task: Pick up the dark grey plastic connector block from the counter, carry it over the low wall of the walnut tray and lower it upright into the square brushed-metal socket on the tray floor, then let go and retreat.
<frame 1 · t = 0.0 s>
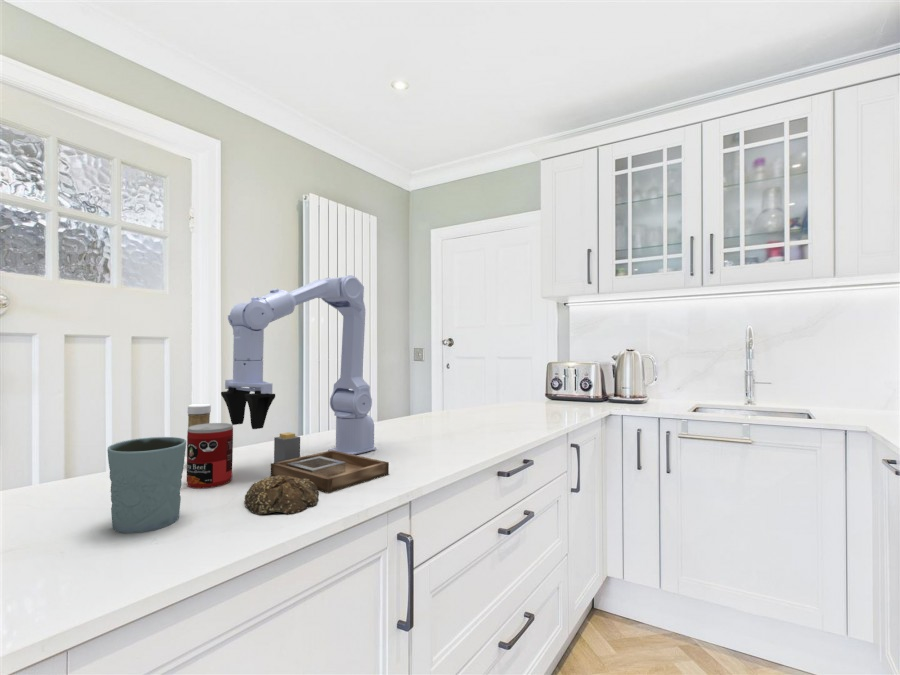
hand: (247, 426, 97), 10 cm above the countertop, tool pointing down, fingers open, 7 cm apart
bread roll: (282, 505, 81), on the countertop
green plant pot: (146, 523, 72), on the countertop
sprinkles bottle: (198, 465, 105), on the countertop
tray: (330, 475, 98), on the countertop
socket: (316, 475, 98), resting on tray
canned food: (209, 483, 92), on the countertop
connector: (286, 463, 107), on the countertop
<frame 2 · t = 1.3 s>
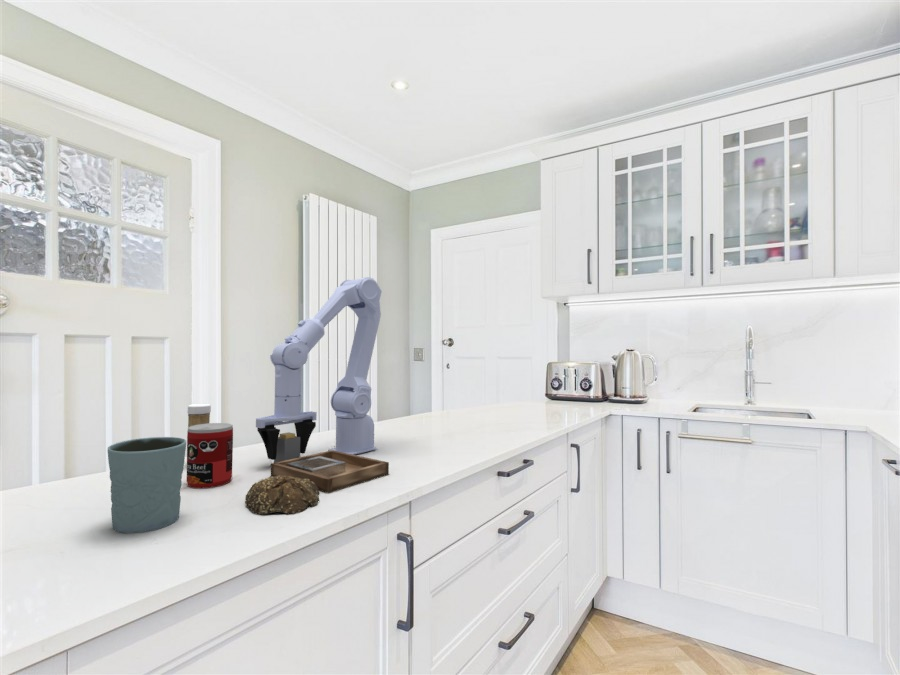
hand: (286, 455, 107), 2 cm above the countertop, tool pointing down, fingers open, 7 cm apart
nothing on the countertop moved.
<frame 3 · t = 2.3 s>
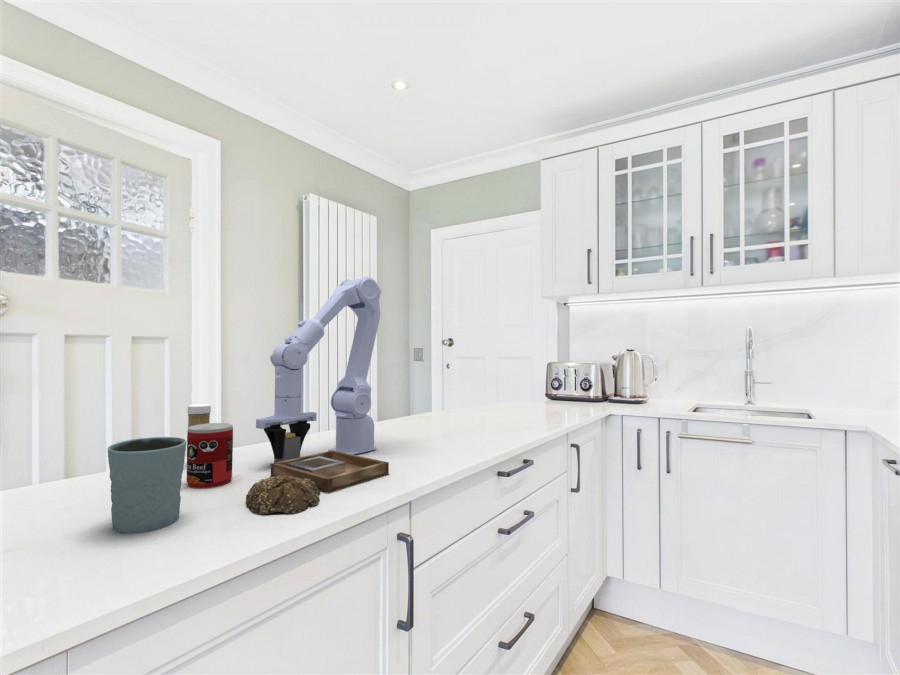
hand: (287, 456, 107), 2 cm above the countertop, tool pointing down, fingers closed on connector, 4 cm apart
connector: (286, 463, 107), on the countertop, touching gripper
everything else where it was.
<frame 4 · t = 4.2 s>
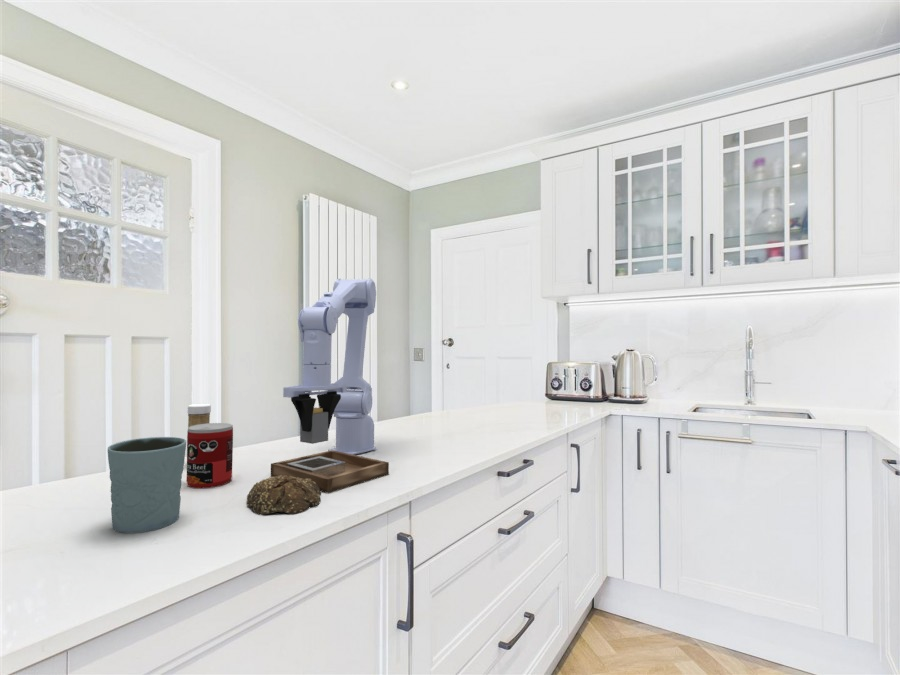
hand: (316, 429, 98), 9 cm above the countertop, tool pointing down, fingers closed on connector, 4 cm apart
connector: (314, 441, 99), point 7 cm above the countertop, touching gripper
everything else where it was.
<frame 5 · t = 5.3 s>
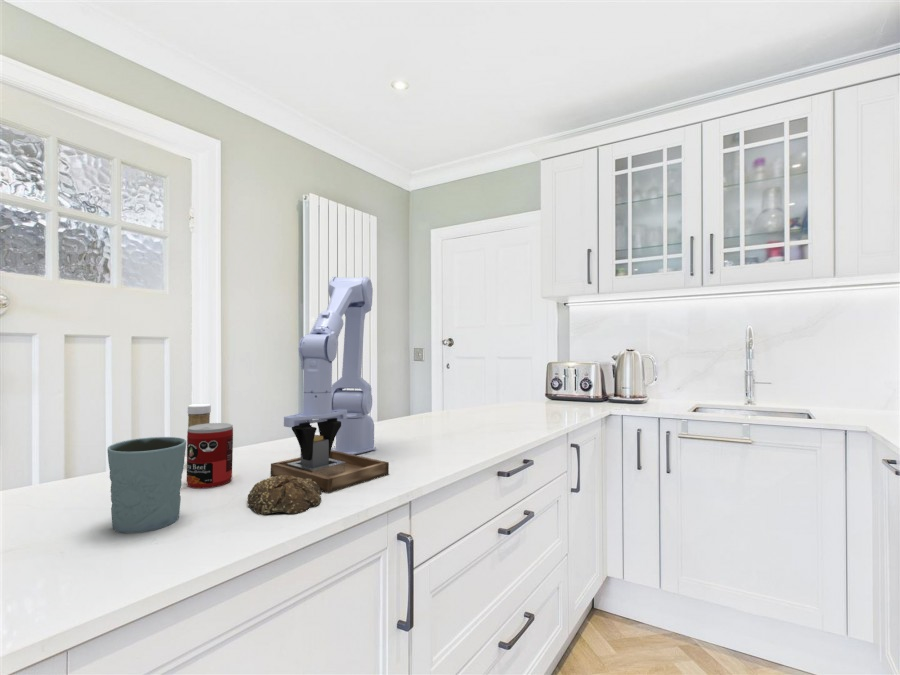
hand: (316, 457, 98), 4 cm above the countertop, tool pointing down, fingers closed on connector, 4 cm apart
connector: (314, 469, 98), point 1 cm above the countertop, touching gripper
everything else where it was.
when the fingers open (3 cm above the countertop, at t = 6.3 s): connector stays where it is, resting on tray.
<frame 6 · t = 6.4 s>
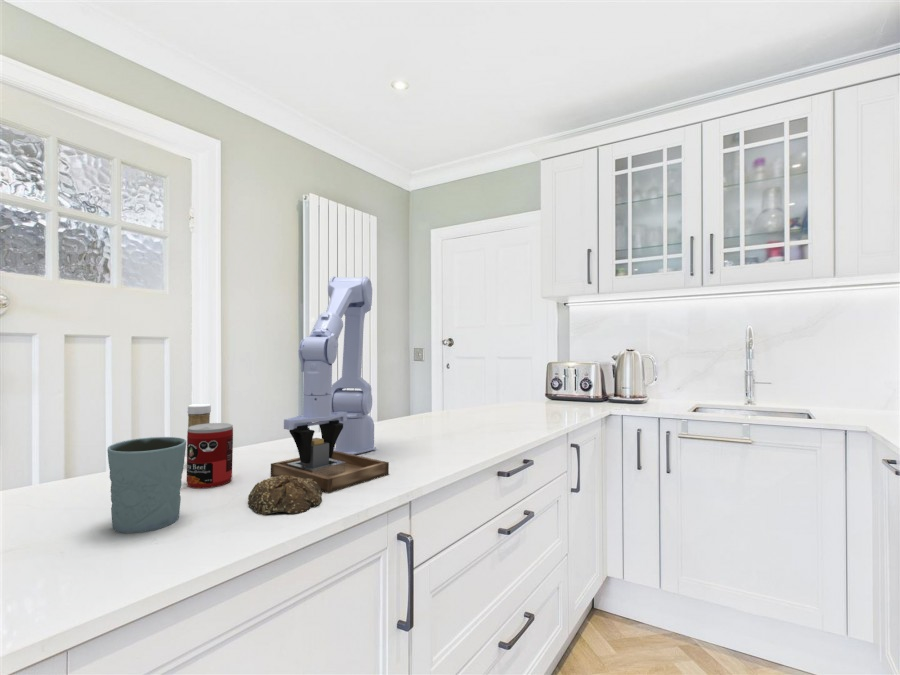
hand: (316, 459, 98), 3 cm above the countertop, tool pointing down, fingers open, 5 cm apart
connector: (314, 472, 98), point 1 cm above the countertop, touching tray
everything else where it was.
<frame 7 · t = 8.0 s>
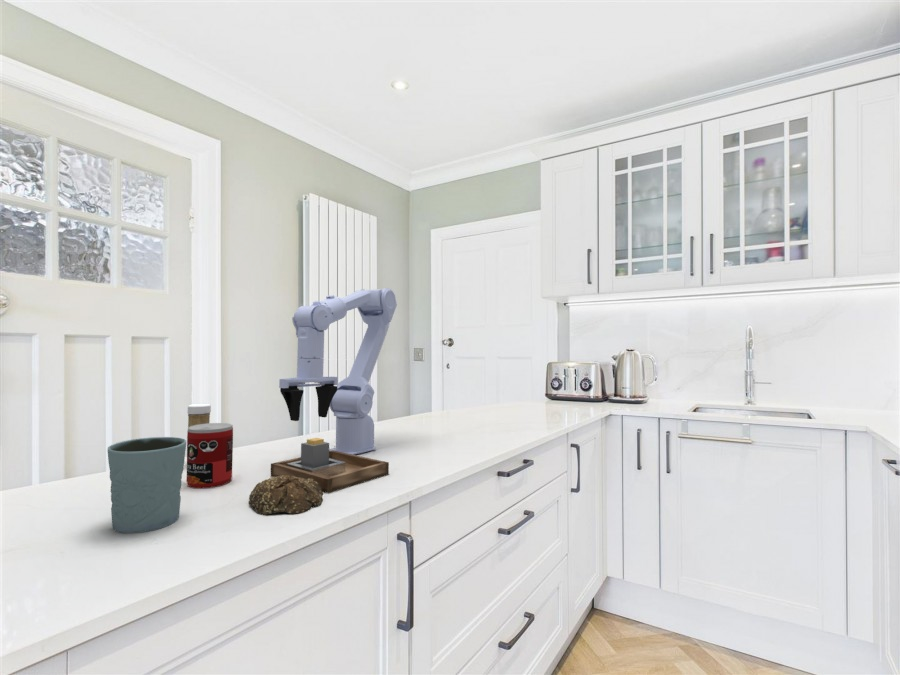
hand: (309, 418, 107), 10 cm above the countertop, tool pointing down, fingers open, 7 cm apart
nothing on the countertop moved.
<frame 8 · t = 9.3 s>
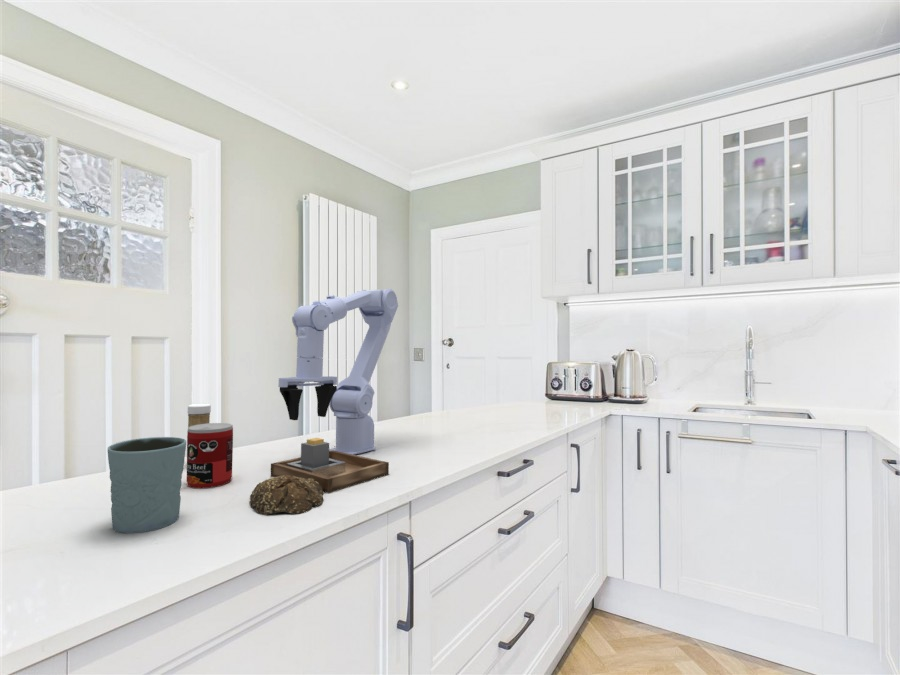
hand: (308, 418, 107), 10 cm above the countertop, tool pointing down, fingers open, 7 cm apart
nothing on the countertop moved.
at the end: connector 0.5 cm off-centre on the socket, point 0.6 cm above the socket's base; connector tilted 0°; the gripper is holding nothing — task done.
